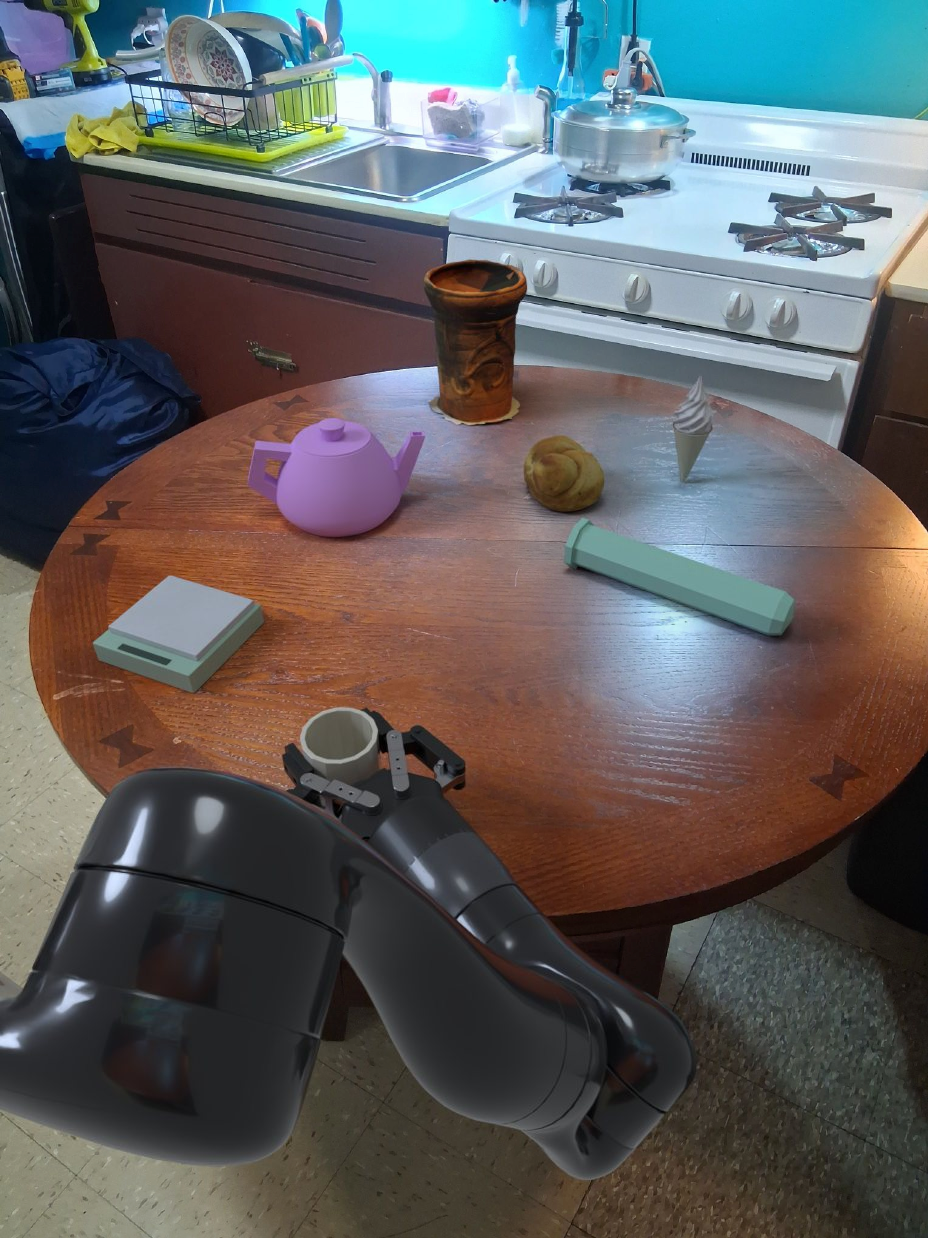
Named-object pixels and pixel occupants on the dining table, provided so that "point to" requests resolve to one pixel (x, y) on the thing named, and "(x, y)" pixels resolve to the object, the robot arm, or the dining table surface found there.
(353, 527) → the teapot
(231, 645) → the scale
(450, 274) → the vessel
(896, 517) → the dining table surface
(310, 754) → the tumbler
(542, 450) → the bread roll
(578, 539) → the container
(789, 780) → the dining table surface
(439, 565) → the dining table surface
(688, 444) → the ice cream cone
